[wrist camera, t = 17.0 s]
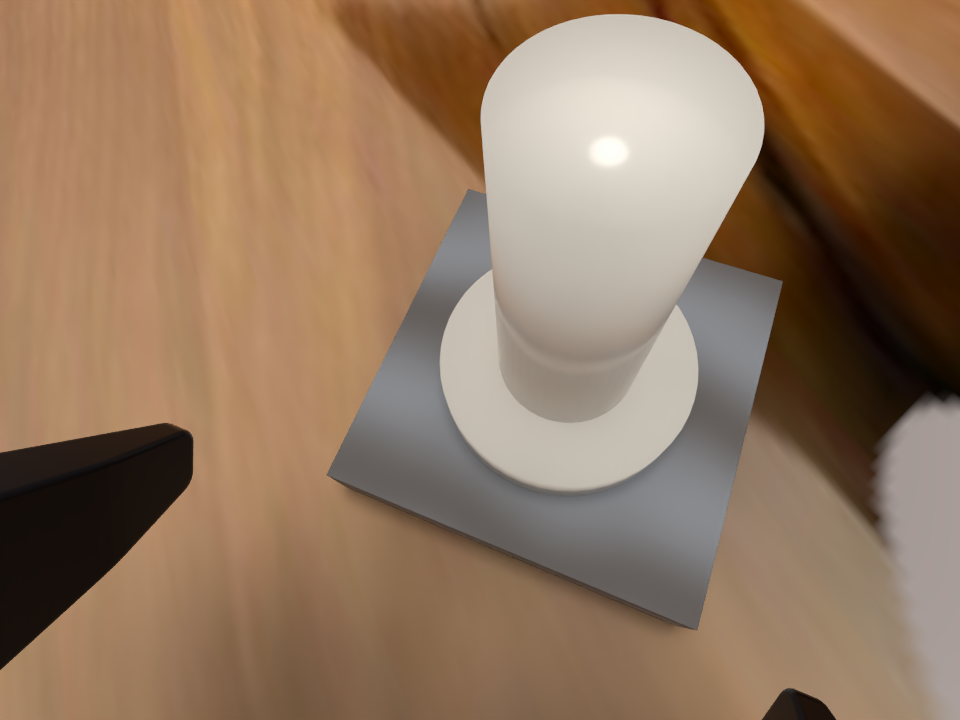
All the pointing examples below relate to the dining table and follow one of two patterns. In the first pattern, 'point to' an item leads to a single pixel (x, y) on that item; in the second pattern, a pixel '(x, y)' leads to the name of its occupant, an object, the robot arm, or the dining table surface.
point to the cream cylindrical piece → (595, 247)
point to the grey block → (569, 519)
